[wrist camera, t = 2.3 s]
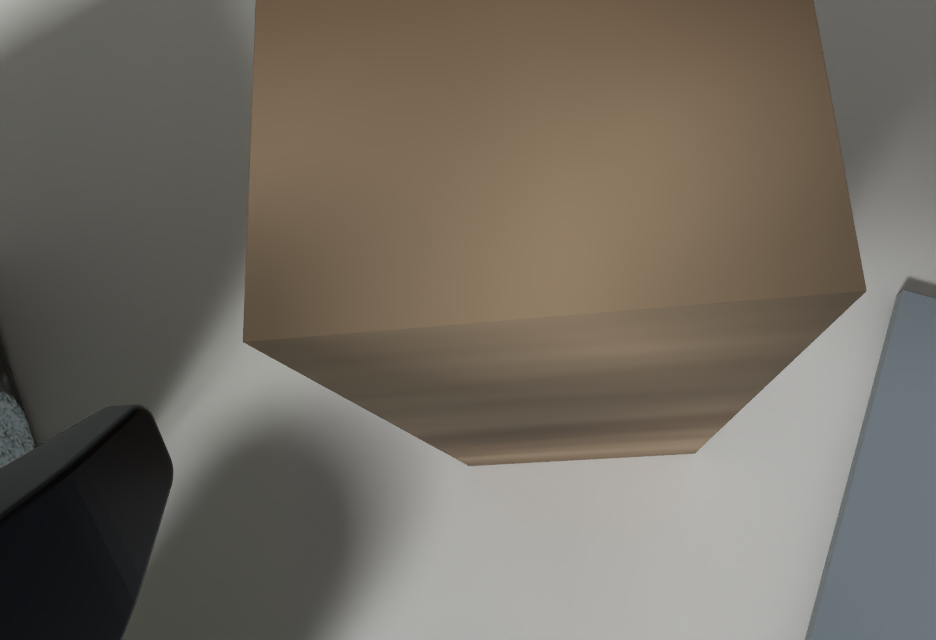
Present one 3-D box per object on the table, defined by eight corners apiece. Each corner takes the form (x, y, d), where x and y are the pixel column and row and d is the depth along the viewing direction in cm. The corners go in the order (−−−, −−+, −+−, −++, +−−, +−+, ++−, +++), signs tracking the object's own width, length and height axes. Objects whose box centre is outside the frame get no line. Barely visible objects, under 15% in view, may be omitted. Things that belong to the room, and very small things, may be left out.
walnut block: (694, 453, 17) (866, 290, 6) (469, 465, 18) (242, 342, 7) (670, 239, 19) (772, -223, 7) (461, 259, 20) (260, -135, 8)
